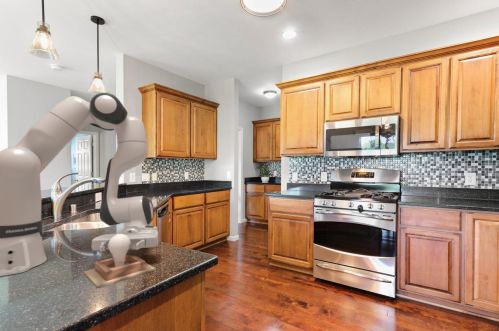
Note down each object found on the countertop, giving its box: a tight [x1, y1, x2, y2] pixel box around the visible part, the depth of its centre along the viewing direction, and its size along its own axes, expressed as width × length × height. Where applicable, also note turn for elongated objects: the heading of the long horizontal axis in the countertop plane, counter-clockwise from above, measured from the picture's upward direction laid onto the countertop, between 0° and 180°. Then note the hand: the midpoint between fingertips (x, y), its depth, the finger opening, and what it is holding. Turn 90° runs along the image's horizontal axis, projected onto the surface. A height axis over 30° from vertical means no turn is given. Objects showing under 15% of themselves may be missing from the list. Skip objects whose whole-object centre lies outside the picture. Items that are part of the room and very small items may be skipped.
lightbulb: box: [108, 233, 131, 268], centre depth 77 cm, size 6×6×11 cm
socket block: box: [83, 253, 156, 289], centre depth 77 cm, size 16×14×3 cm
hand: (118, 248), depth 76 cm, fingers open, 8 cm apart
